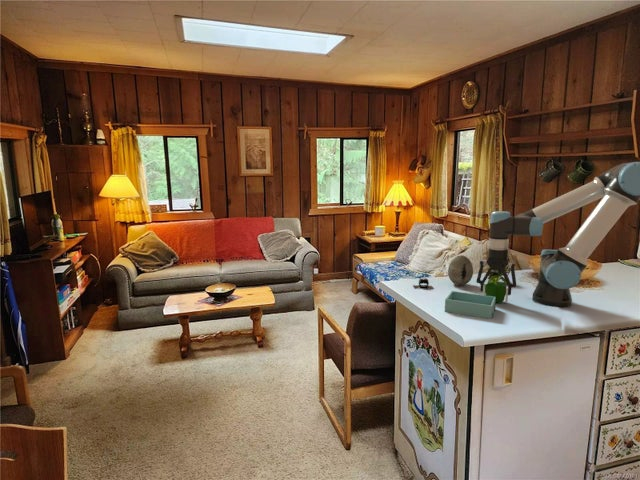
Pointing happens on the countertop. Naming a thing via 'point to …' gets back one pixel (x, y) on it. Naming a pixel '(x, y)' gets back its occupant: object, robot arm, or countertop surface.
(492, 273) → the green leafy plant
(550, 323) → the countertop surface
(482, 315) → the green planter box
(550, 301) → the robot arm
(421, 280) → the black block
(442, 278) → the countertop surface
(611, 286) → the countertop surface
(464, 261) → the decorative egg
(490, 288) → the bell pepper
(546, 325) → the countertop surface
